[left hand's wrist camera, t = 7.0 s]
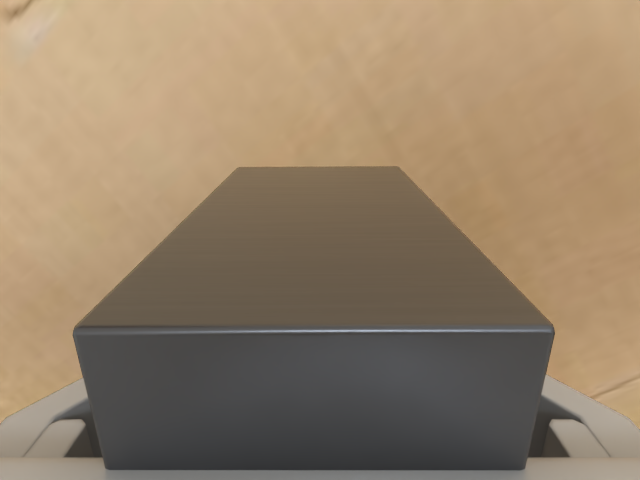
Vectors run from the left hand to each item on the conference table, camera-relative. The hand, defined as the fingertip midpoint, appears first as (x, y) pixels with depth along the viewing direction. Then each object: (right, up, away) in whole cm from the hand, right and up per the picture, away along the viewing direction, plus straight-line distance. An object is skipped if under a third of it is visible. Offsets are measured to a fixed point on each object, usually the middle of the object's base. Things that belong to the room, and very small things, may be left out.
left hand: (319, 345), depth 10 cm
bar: (0, -8, +8) cm, 11 cm away
